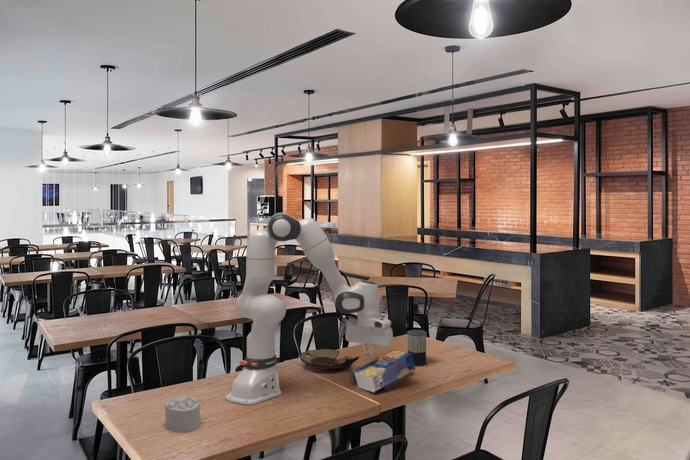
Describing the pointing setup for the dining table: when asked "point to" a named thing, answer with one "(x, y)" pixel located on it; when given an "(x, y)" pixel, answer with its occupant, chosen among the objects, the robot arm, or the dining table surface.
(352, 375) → the angle bracket
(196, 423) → the lumpy-topped squat cylinder
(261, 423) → the dining table surface
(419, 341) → the milk frother
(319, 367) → the olive brown plate
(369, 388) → the beverage box
